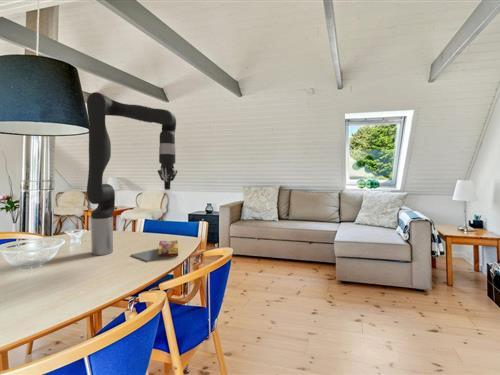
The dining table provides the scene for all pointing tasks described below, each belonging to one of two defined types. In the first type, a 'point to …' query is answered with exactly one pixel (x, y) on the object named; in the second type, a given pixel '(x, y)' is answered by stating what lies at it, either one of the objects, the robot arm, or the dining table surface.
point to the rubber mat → (148, 255)
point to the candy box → (168, 248)
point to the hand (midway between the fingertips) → (167, 189)
